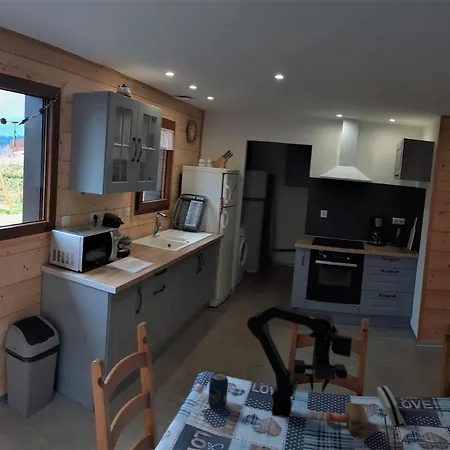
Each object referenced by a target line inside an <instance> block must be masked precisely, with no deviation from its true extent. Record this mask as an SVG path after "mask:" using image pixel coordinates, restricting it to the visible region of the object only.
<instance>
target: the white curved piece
mask: <svg viewBox="0 0 450 450" xmlns="http://www.w3.org/2000/svg"><path fill="white" fill-rule="evenodd" d="M376 390H377V391H376V392H377V395H378V399H379V403H380V402H381V403H380V405H381V404H382V405H381V406H383V407H382V408H383V410H384V412H385V411H386V412H385V414H386V413H387V414H386V416H387V415H388V416H387V417H389V418H388V419H389V421H390V423H391V425H392V426H397V424H398V425H402V424H403V423H404V424H403V425H404V427H406V426H407V423H406V421H405V420H404V418H403V416H402V414H401V413H400V409H399V406H398V403H397V401H396V399H395V397H394V395H393V393H392V392H391V390H390V388H389V387H388V386H387V385H382V386H381V387H380V386H378V387H376Z"/></svg>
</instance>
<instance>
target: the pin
mask: <svg viewBox="0 0 450 450" xmlns="http://www.w3.org/2000/svg"><path fill="white" fill-rule="evenodd" d="M325 413H326V414H325V423H326V424H329V425H330V424H331V422H337V423H345V424H347V423H349V416H345V414H343V415H342V414H336V413H331V410H326V412H325Z"/></svg>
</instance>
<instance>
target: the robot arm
mask: <svg viewBox="0 0 450 450" xmlns="http://www.w3.org/2000/svg"><path fill="white" fill-rule="evenodd" d="M274 318H275V319H279V320H283V321H287V322H290V323H294V324H297V325H301V326H305V327H307V328H308V329H309V330H311V332H310V333H309V335H308V337H309V338H313V339H314V341H313V352H312V359H311V364H308V363H305V360H301V359H294V360H293V362H292V370H291V371H290V370H289V369H288V368H287V366H286V365H285V363H284V360H283V359H282V357H281V355H280V353H279V350H278V348H277V346H276V343H275V342H274V340H273V338H272V336H271V333H270V325H269V322H270V321H271V320H273V319H274ZM334 322H335V321H334V319H333V317H332V316H331V315H330V314H326V313H309V312H304V311H301V310H297V309H294V308H293V309H292V308H289V307H286V306H280V305H279V304H277V303H274V304H273V305H271V306H270V307H268V308H267V309H265V310H263V311H262V312H259V311H258V312H255V313H253V315H251V316H250V317H249V318H248V319H247V322H246V326H247V328H248V330H249V331H250V333H251V334H252V335H253V337H255V338H256V339H257V340H258V341H259V344H260V345H261V348H262V349H263V352H264V353H265V357H266V358H267V360H268V362H269V364H270V366H271V368H272V370H273V373H274V375H275V382H276V387H275V389H274V390H273V392H272V393H271V398H272V405H271V414H272V416H277V417H286V418H290V417H291V415H290V414H291V413H292V405H293V403H292V402H293V401H292V399H291V398H292V397H293V395H294V394H295V392H296V391H297V389H298V385H299V382H298V381H299V379H298V377H297V375H296V374H298V375H304V376H305V377H307V378H308V381H309V385H310V390H311V391H312V392H314V378H315V379H316V380H322V383H321V393H324V391H325V390H326V388H327V385H328V384H329V383H330V381H331V380H332V381H333V380H335V379H336V378H337V379H345V380H346V379H348V370H347V367H346V365H345V364H342V363H334V364H331V363H330V351H332V353H333V354H334V355H338V356H343V357H346V358H351V357H352V354H353V349H354V344H353V337H352V336H344V335H340V334H339V331H338V329H337V328H336V326H335V323H334ZM313 373H314V374H313ZM335 376H336V377H335Z"/></svg>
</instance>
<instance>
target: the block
mask: <svg viewBox="0 0 450 450" xmlns="http://www.w3.org/2000/svg"><path fill="white" fill-rule="evenodd" d="M344 407H345V409H344V415H345V416H349V423H346V426H347V430H348V433H349V436H350V437H361V438H367V439H368V438H369V432H370V431H369V430H370V420H369V417H368V416H367V413H366V410H365V407H364V405H363V404H362V403H357V402H356V403H354V402H347V401H346V402H345V406H344Z"/></svg>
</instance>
